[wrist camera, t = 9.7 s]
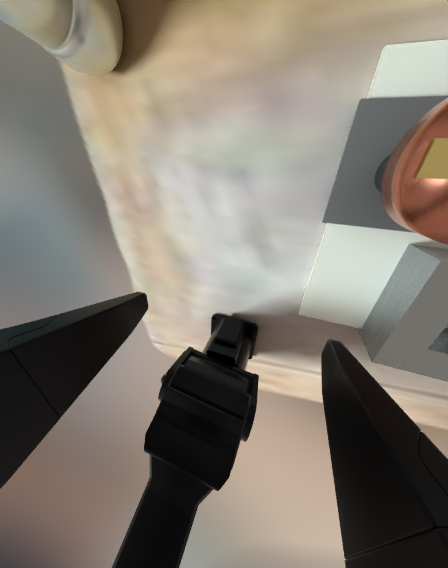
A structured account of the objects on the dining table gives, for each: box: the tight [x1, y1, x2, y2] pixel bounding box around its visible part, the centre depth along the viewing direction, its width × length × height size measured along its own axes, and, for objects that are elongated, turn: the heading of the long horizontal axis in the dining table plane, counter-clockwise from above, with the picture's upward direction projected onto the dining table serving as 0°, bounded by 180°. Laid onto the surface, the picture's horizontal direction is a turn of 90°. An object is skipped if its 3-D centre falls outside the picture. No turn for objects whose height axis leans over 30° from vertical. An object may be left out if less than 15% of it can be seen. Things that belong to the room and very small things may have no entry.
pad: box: [322, 96, 448, 233], centre depth 14 cm, size 8×8×1 cm
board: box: [298, 39, 448, 329], centre depth 15 cm, size 21×17×1 cm
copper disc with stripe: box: [375, 98, 448, 245], centre depth 10 cm, size 6×6×9 cm
